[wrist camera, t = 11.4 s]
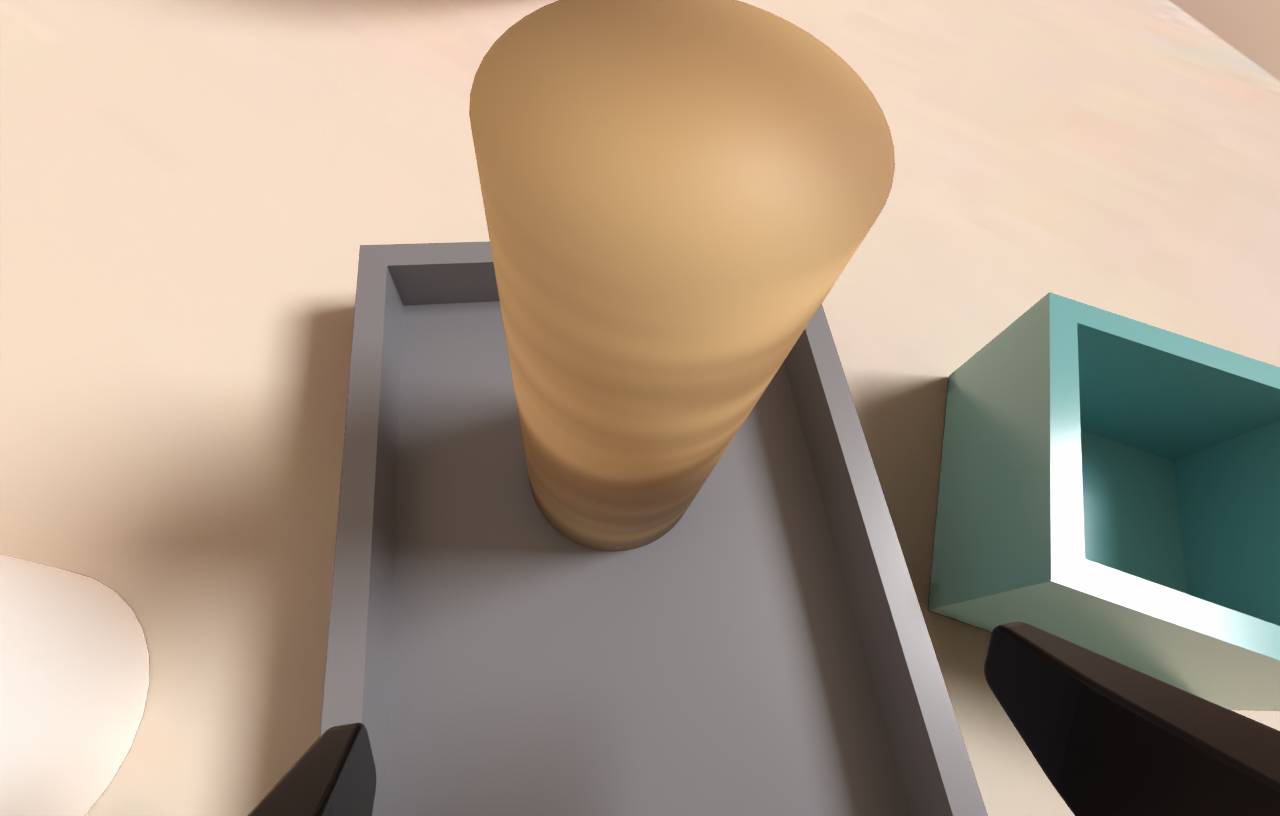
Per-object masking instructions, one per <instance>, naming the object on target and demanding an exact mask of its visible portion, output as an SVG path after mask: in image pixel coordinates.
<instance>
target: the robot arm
mask: <svg viewBox="0 0 1280 816" xmlns="http://www.w3.org/2000/svg"><path fill="white" fill-rule="evenodd" d="M984 672H985V677H986V680H987V683H988V685H989V687H990V688H991V690H992V691H993V693H994V695H995V696H996V698H997V699H998V701H999V702H1000V704H1001V705H1002V707H1003V709H1004V710H1005V712H1006V713H1007V715H1008V716H1009V718H1010V720H1011V721H1012V723H1013V724H1014V726H1015V727H1016V729H1017V730H1018V732H1019V734H1020V735H1021V737H1022V738H1023V740H1024V741H1025V743H1026V745H1027V746H1028V748H1029V749H1030V751H1031V752H1032V754H1033V756H1034V757H1035V759H1036V760H1037V762H1038V763H1039V765H1040V766H1041V768H1042V770H1043V771H1044V773H1045V774H1046V776H1047V777H1048V779H1049V780H1050V782H1051V783H1052V785H1053V786H1054V787H1055V789H1056V790H1057V792H1058V793H1059V794H1060V796H1061V797H1062V798H1063V800H1064V801H1065V803H1066V804H1067V805H1068V807H1069V808H1070V809H1071V811H1072V812H1073V813H1074V815H1075V816H1280V731H1278V730H1276V729H1273V728H1271V727H1269V726H1266V725H1264V724H1261V723H1259V722H1257V721H1254V720H1252V719H1250V718H1247V717H1245V716H1243V715H1240V714H1238V713H1236V712H1233V711H1231V710H1229V709H1226V708H1224V707H1222V706H1219V705H1217V704H1215V703H1212V702H1210V701H1208V700H1205V699H1203V698H1201V697H1198V696H1196V695H1194V694H1191V693H1189V692H1187V691H1184V690H1182V689H1179V688H1177V687H1175V686H1172V685H1170V684H1168V683H1165V682H1163V681H1161V680H1158V679H1156V678H1154V677H1151V676H1149V675H1147V674H1144V673H1142V672H1140V671H1137V670H1135V669H1133V668H1130V667H1128V666H1126V665H1123V664H1121V663H1119V662H1116V661H1114V660H1112V659H1109V658H1107V657H1105V656H1102V655H1100V654H1098V653H1095V652H1093V651H1090V650H1088V649H1086V648H1083V647H1081V646H1079V645H1076V644H1074V643H1072V642H1069V641H1067V640H1065V639H1062V638H1060V637H1058V636H1055V635H1053V634H1051V633H1048V632H1046V631H1044V630H1041V629H1039V628H1037V627H1034V626H1032V625H1030V624H1027V623H1024V622H1014V623H1007V624H1001V625H998V626H996V627H995V628H994V629H993V630H992V633H991V637H990V642H989V647H988V652H987V656H986V661H985V666H984ZM375 792H376V767H375V763H374V758H373V754H372V749H371V745H370V740H369V736H368V731H367V729H366V727H365V725H364V724H362V723H352V724H346V725H339V726H334V727H331V728H329V729H328V730H326V731H325V732H324V733H323V734H322V735H321V736H320V737H319V738H318V739H317V740H316V742H315V743H314V744H313V745H312V746H311V747H310V748H309V749H308V750H307V751H306V752H305V754H304V755H303V756H302V757H301V758H300V759H299V760H298V761H297V762H296V763H295V764H294V766H293V767H292V768H291V769H290V770H289V771H288V772H287V773H286V774H285V775H284V776H283V777H282V779H281V780H280V781H279V782H278V783H277V784H276V785H275V786H274V787H273V788H272V789H271V791H270V792H269V793H268V794H267V795H266V796H265V797H264V798H263V799H262V800H261V801H260V803H259V804H258V805H257V806H256V807H255V808H254V809H253V810H252V811H251V812H250V813H249V815H248V816H372V812H373V805H374V799H375Z"/></svg>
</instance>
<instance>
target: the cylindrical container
mask: <svg viewBox="0 0 1280 816" xmlns="http://www.w3.org/2000/svg"><path fill="white" fill-rule="evenodd" d="M148 686H149V652H148V648H147V644H146V641H145V637H144V633H143V629H142V627H141V625H140V624H139V622H138V620H137V618H136V616H135V614H134V612H133V611H132V609H131V608H130V607H129V606H128V605H127V604H126V602H125V601H124V600H123V599H122V598H121V597H120V596H119V595H118V594H117V593H116V592H115V591H113V590H112V589H110V588H108V587H107V586H105V585H103V584H102V583H100V582H98V581H97V580H95V579H93V578H90V577H86V576H83V575H80V574H76V573H73V572H70V571H66V570H62V569H58V568H54V567H50V566H46V565H42V564H38V563H34V562H30V561H26V560H22V559H18V558H14V557H10V556H6V555H2V554H0V816H85V815H86V813H87V812H88V811H89V810H90V808H91V807H92V806H93V804H94V803H95V802H96V801H97V799H98V798H99V797H100V796H101V794H102V793H103V792H104V791H105V789H106V788H107V787H108V785H109V784H110V783H111V781H112V779H113V777H114V776H115V774H116V772H117V771H118V769H119V767H120V765H121V764H122V762H123V760H124V758H125V757H126V755H127V753H128V751H129V750H130V748H131V745H132V743H133V740H134V737H135V735H136V732H137V729H138V727H139V724H140V721H141V719H142V716H143V714H144V708H145V703H146V697H147V692H148Z"/></svg>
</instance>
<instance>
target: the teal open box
mask: <svg viewBox="0 0 1280 816" xmlns="http://www.w3.org/2000/svg"><path fill="white" fill-rule="evenodd" d="M928 610H929V611H932V612H935V613H938V614H941V615H944V616H946V617H949V618H952V619H955V620H958V621H961V622H963V623H966V624H969V625H972V626H975V627H978V628H980V629H983V630H986V631H989V632H992V630H993V629H994V628H995V627H996V626H998V625H1001V624H1007V623H1014V622H1024V623H1027V624H1030V625H1032V626H1034V627H1037V628H1039V629H1041V630H1044V631H1046V632H1048V633H1051V634H1053V635H1055V636H1058V637H1060V638H1062V639H1065V640H1067V641H1069V642H1072V643H1074V644H1076V645H1079V646H1081V647H1083V648H1086V649H1088V650H1090V651H1093V652H1095V653H1098V654H1100V655H1102V656H1105V657H1107V658H1109V659H1112V660H1114V661H1116V662H1119V663H1121V664H1123V665H1126V666H1128V667H1130V668H1133V669H1135V670H1137V671H1140V672H1142V673H1144V674H1147V675H1149V676H1151V677H1154V678H1156V679H1158V680H1161V681H1163V682H1165V683H1168V684H1170V685H1172V686H1175V687H1177V688H1179V689H1182V690H1184V691H1187V692H1189V693H1191V694H1194V695H1196V696H1198V697H1201V698H1203V699H1205V700H1208V701H1210V702H1212V703H1215V704H1217V705H1219V706H1222V707H1224V708H1226V709H1229V710H1257V711H1280V368H1279V367H1276V366H1273V365H1270V364H1267V363H1264V362H1261V361H1258V360H1255V359H1252V358H1249V357H1246V356H1242V355H1239V354H1236V353H1233V352H1230V351H1227V350H1224V349H1221V348H1218V347H1215V346H1212V345H1209V344H1206V343H1203V342H1200V341H1197V340H1194V339H1190V338H1187V337H1184V336H1181V335H1178V334H1175V333H1172V332H1169V331H1166V330H1163V329H1160V328H1157V327H1154V326H1151V325H1148V324H1145V323H1142V322H1139V321H1135V320H1132V319H1129V318H1126V317H1123V316H1120V315H1117V314H1114V313H1111V312H1108V311H1105V310H1102V309H1099V308H1096V307H1093V306H1090V305H1087V304H1084V303H1080V302H1077V301H1074V300H1071V299H1068V298H1065V297H1062V296H1059V295H1056V294H1053V293H1050V292H1049V293H1048V294H1047V295H1046V296H1045V297H1043V298H1042V299H1041V300H1040V301H1039V302H1037V303H1036V304H1035V305H1034V306H1033V307H1031V308H1030V309H1029V310H1028V311H1027V312H1025V313H1024V314H1023V315H1022V316H1021V317H1019V318H1018V319H1017V320H1016V321H1015V322H1013V323H1012V324H1011V325H1010V326H1009V327H1007V328H1006V329H1005V330H1004V331H1003V332H1001V333H1000V334H999V335H998V336H997V337H995V338H994V339H993V340H992V341H991V342H989V343H988V344H987V345H986V346H985V347H983V348H982V349H981V350H980V351H979V352H977V353H976V354H975V355H974V356H973V357H971V358H970V359H969V360H968V361H967V362H965V363H964V364H963V365H962V366H961V367H959V368H958V369H957V370H956V371H955V372H953V373H952V374H951V375H950V376H949V381H948V392H947V403H946V415H945V426H944V437H943V448H942V459H941V471H940V482H939V493H938V504H937V516H936V527H935V538H934V549H933V561H932V572H931V583H930V594H929V605H928Z"/></svg>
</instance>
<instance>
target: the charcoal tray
mask: <svg viewBox="0 0 1280 816" xmlns="http://www.w3.org/2000/svg"><path fill="white" fill-rule="evenodd" d="M352 723H362V724H364V725H365V727H366V729H367V731H368V736H369V740H370V745H371V749H372V754H373V758H374V763H375V767H376V792H375V799H374V805H373V812H372V816H988V815H987V812H986V808H985V805H984V802H983V799H982V796H981V793H980V790H979V787H978V784H977V781H976V778H975V775H974V771H973V768H972V765H971V762H970V759H969V756H968V753H967V750H966V747H965V744H964V741H963V738H962V735H961V731H960V728H959V725H958V722H957V719H956V716H955V713H954V710H953V707H952V704H951V701H950V698H949V695H948V691H947V688H946V685H945V682H944V679H943V676H942V673H941V670H940V667H939V664H938V661H937V658H936V654H935V651H934V648H933V645H932V642H931V639H930V636H929V633H928V630H927V627H926V624H925V621H924V618H923V614H922V611H921V608H920V605H919V602H918V599H917V596H916V593H915V590H914V587H913V584H912V581H911V577H910V574H909V571H908V568H907V565H906V562H905V559H904V556H903V553H902V550H901V547H900V544H899V541H898V537H897V534H896V531H895V528H894V525H893V522H892V519H891V516H890V513H889V510H888V507H887V504H886V500H885V497H884V494H883V491H882V488H881V485H880V482H879V479H878V476H877V473H876V470H875V467H874V464H873V460H872V457H871V454H870V451H869V448H868V445H867V442H866V439H865V436H864V433H863V430H862V427H861V424H860V420H859V417H858V414H857V411H856V408H855V405H854V402H853V399H852V396H851V393H850V390H849V387H848V383H847V380H846V377H845V374H844V371H843V368H842V365H841V362H840V359H839V356H838V353H837V350H836V347H835V343H834V340H833V337H832V334H831V331H830V328H829V325H828V322H827V319H826V316H825V313H824V310H823V306H822V303H821V305H820V307H819V308H818V310H817V311H816V313H815V314H814V316H813V317H812V319H811V320H810V322H809V323H808V325H807V326H806V328H805V330H804V331H803V333H802V334H801V336H800V337H799V339H798V340H797V342H796V343H795V345H794V346H793V348H792V349H791V351H790V352H789V354H788V356H787V357H786V359H785V360H784V362H783V363H782V365H781V366H780V368H779V369H778V371H777V372H776V374H775V375H774V377H773V379H772V380H771V382H770V383H769V385H768V386H767V388H766V389H765V391H764V392H763V394H762V395H761V397H760V398H759V400H758V402H757V403H756V405H755V406H754V408H753V409H752V411H751V412H750V414H749V415H748V417H747V418H746V420H745V421H744V423H743V424H742V426H741V428H740V429H739V431H738V432H737V434H736V435H735V437H734V438H733V440H732V441H731V443H730V444H729V446H728V447H727V449H726V451H725V452H724V454H723V455H722V457H721V458H720V460H719V461H718V463H717V464H716V466H715V467H714V469H713V470H712V472H711V474H710V475H709V477H708V478H707V480H706V481H705V483H704V484H703V486H702V487H701V489H700V490H699V492H698V493H697V495H696V496H695V498H694V500H693V501H692V503H691V504H690V506H689V507H688V509H687V510H686V512H685V513H684V515H683V516H682V518H681V519H680V520H679V521H678V523H677V524H676V525H675V526H674V527H673V528H672V529H671V530H670V531H669V532H668V533H666V534H665V535H664V536H662V537H661V538H659V539H658V540H656V541H654V542H652V543H650V544H648V545H645V546H642V547H639V548H636V549H631V550H626V551H602V550H597V549H592V548H589V547H586V546H583V545H580V544H578V543H576V542H574V541H572V540H570V539H568V538H567V537H565V536H564V535H562V534H561V533H559V532H558V531H557V530H556V529H555V528H554V527H553V526H552V525H551V524H550V523H549V522H548V521H547V520H546V518H545V517H544V516H543V514H542V513H541V511H540V509H539V508H538V506H537V504H536V502H535V499H534V497H533V494H532V490H531V487H530V481H529V475H528V469H527V463H526V457H525V451H524V445H523V438H522V432H521V426H520V420H519V414H518V408H517V402H516V396H515V390H514V384H513V378H512V372H511V366H510V360H509V354H508V348H507V341H506V335H505V329H504V323H503V317H502V311H501V305H500V299H499V293H498V287H497V281H496V275H495V269H494V263H493V257H492V250H491V244H490V242H463V243H428V244H393V245H360V253H359V265H358V277H357V290H356V302H355V314H354V327H353V339H352V351H351V364H350V376H349V388H348V401H347V413H346V425H345V438H344V450H343V462H342V475H341V487H340V499H339V512H338V524H337V536H336V549H335V561H334V573H333V586H332V598H331V610H330V623H329V635H328V647H327V660H326V672H325V684H324V697H323V709H322V721H321V734H320V736H321V735H322V734H323V733H324V732H325V731H326V730H328V729H329V728H331V727H334V726H339V725H346V724H352Z"/></svg>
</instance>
